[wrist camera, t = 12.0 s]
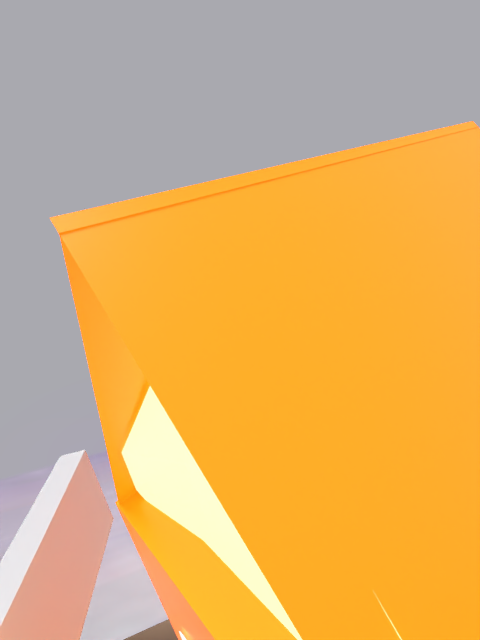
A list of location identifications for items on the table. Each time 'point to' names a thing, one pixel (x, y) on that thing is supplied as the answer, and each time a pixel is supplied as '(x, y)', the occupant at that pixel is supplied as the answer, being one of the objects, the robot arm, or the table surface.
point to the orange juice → (297, 390)
